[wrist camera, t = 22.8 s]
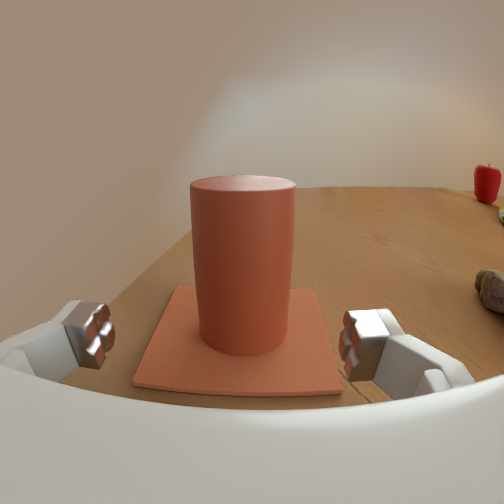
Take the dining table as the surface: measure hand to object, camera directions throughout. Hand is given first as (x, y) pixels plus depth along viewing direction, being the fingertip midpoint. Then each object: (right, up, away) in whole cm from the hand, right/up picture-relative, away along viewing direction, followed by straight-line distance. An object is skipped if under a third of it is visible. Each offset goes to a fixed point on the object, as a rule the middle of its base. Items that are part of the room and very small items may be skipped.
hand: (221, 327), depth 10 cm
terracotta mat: (0, -3, +11) cm, 12 cm away
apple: (+79, +19, +69) cm, 107 cm away
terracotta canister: (0, -3, +11) cm, 11 cm away
